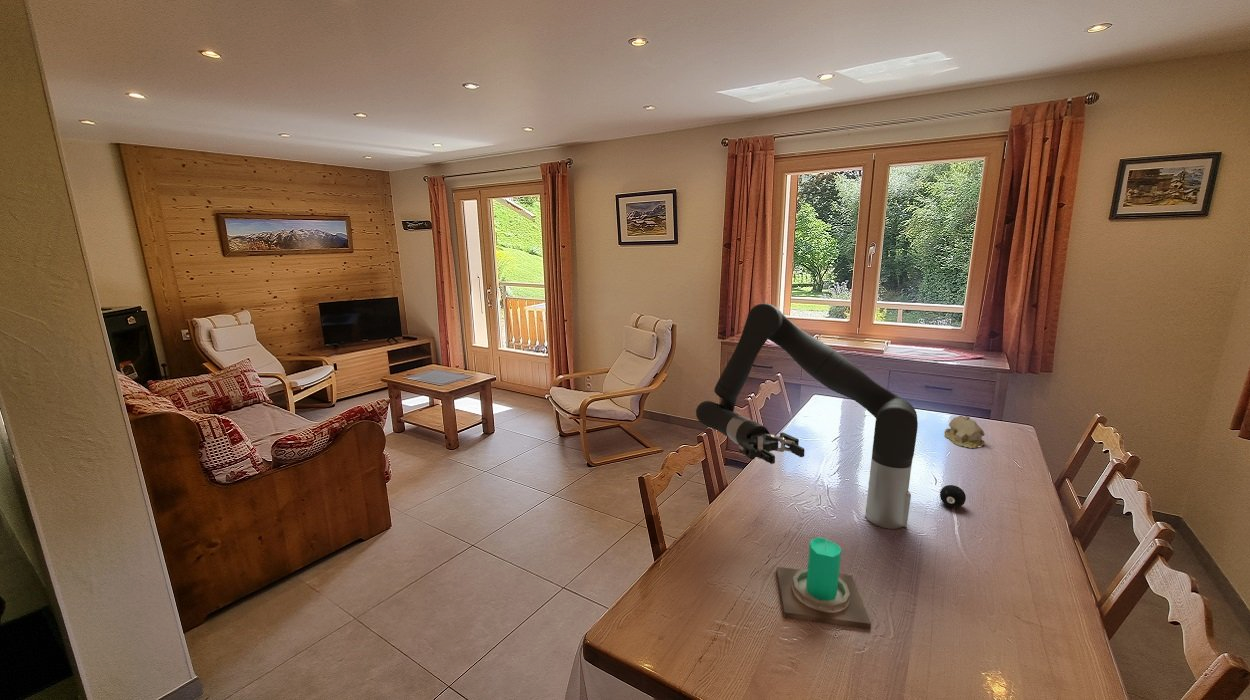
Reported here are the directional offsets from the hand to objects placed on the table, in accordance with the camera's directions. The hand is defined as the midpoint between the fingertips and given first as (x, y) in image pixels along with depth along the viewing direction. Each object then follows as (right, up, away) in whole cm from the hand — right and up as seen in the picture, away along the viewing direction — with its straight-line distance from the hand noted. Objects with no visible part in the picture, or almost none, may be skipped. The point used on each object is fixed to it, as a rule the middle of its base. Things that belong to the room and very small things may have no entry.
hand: (788, 456), depth 111 cm
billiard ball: (+55, -20, +24) cm, 63 cm away
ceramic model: (+89, -10, +68) cm, 113 cm away
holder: (+3, -27, -11) cm, 30 cm away
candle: (+3, -26, -11) cm, 28 cm away
